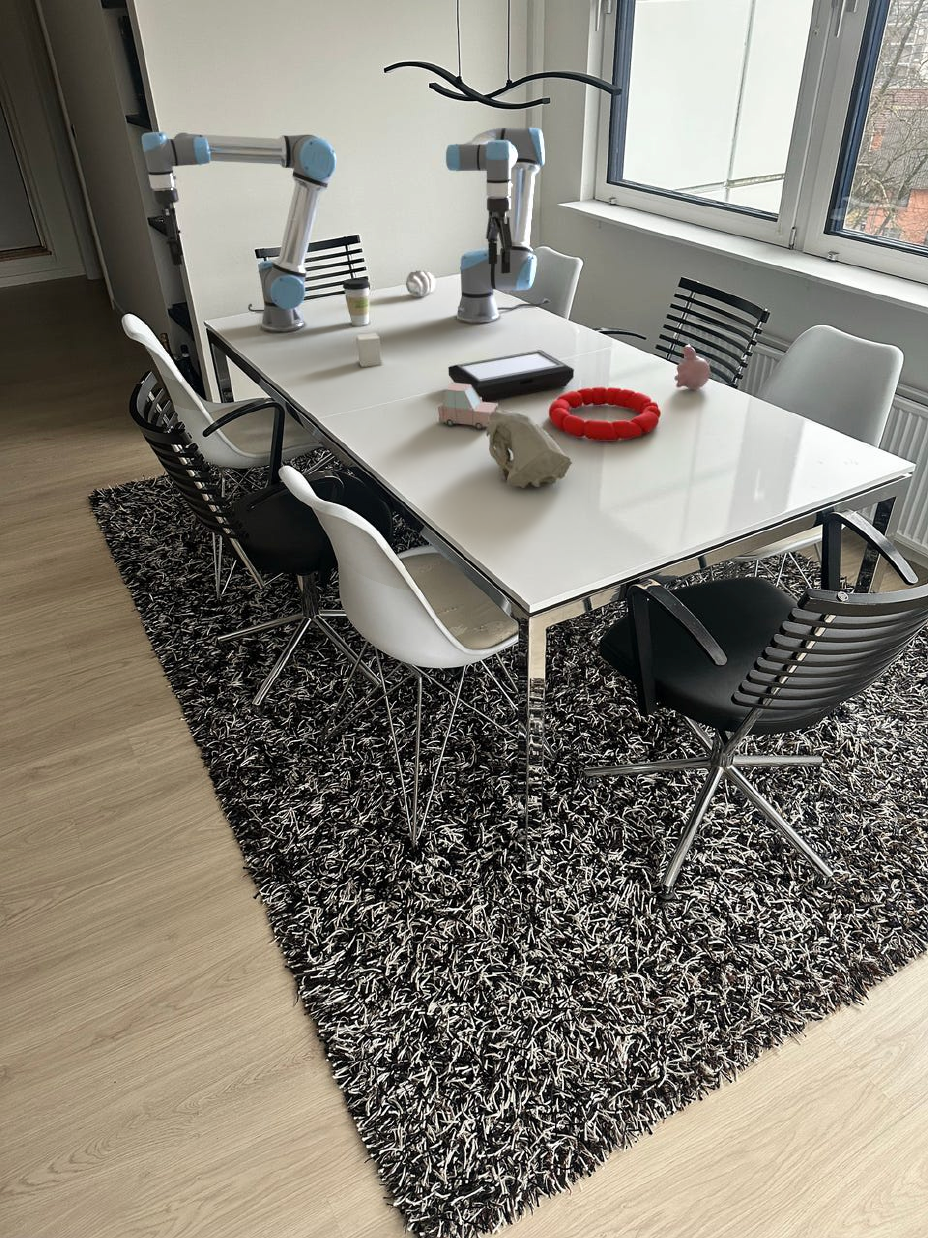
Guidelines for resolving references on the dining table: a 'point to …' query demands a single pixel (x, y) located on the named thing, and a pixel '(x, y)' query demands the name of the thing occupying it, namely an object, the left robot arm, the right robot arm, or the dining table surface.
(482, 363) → the electronic device
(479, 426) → the toy car
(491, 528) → the dining table surface
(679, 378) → the figurine
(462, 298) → the right robot arm
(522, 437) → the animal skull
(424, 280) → the seashell
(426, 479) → the dining table surface
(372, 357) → the block
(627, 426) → the decorative ring
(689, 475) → the dining table surface
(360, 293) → the coffee cup
